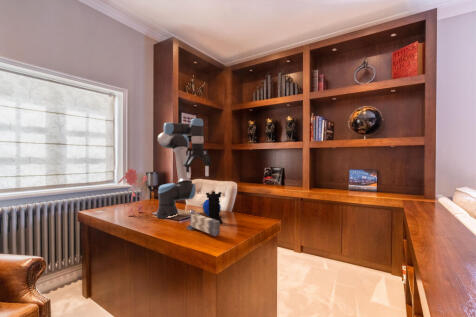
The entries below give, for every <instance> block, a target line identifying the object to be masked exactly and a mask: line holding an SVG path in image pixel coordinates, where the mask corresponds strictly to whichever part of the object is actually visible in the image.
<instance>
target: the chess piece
mask: <svg viewBox="0 0 476 317" xmlns="http://www.w3.org/2000/svg"><path fill="white" fill-rule="evenodd" d="M222 193H223V192H222V191H219V192H218V193H216V191H211V193H210V192H206V193H205V195H206V198H207V199H209V201H208V203H209V216H207V217H208V218H211V219H215V220H218V221H220V224H223V223H224V221H223V219H222V216H221V215H220V213H219V203H221V200H220V198H221V197H222Z"/></svg>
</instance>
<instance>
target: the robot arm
mask: <svg viewBox="0 0 476 317" xmlns="http://www.w3.org/2000/svg"><path fill="white" fill-rule="evenodd" d="M188 136H191V150H188V148H189V147H190V141H189V140H190V138H189V137H188ZM156 140H157V143H158V145H159V146H161V147H162V148H165V149H172V152H174V155H175V156H174V157H175V162H176V171H177V179H178V180H177V182H176V183H174V182H170V183H169V182H168V183H165V184H161V185H160V186H158V192H157V193H158V208H157V212H156V218H157V219H161V220H162V219H168V218H166V217H168V216H173V215H176V214H178V215H179V211H178V208H177V205H176V201H186V200H187V201H188V200H193V199H194V197H195V196H196V185H195V183H193V180H191V175H192V173H191V171H192V170H191V169H192V168H191V165H192V164H193V162H194V161H195V159H201V160H202V161H203V163H204V164H205V166H204V167H205V169H204V171H205V172H204V173H205V177H209V175H210V172H209V171H210V166H212V164H213V163H212V161H211V158H210V156H209V151H208V150H204V148H205V147H204V146H205V144H204V141H205V140H204V120H203V119H202V118H197V117H196V118H191V120H190V123H186V122H185V123H183V122H182V123H181V122H179V123H178V122H165V123H164V124H163V132H161V133H160V134H158V136H157V139H156Z"/></svg>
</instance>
